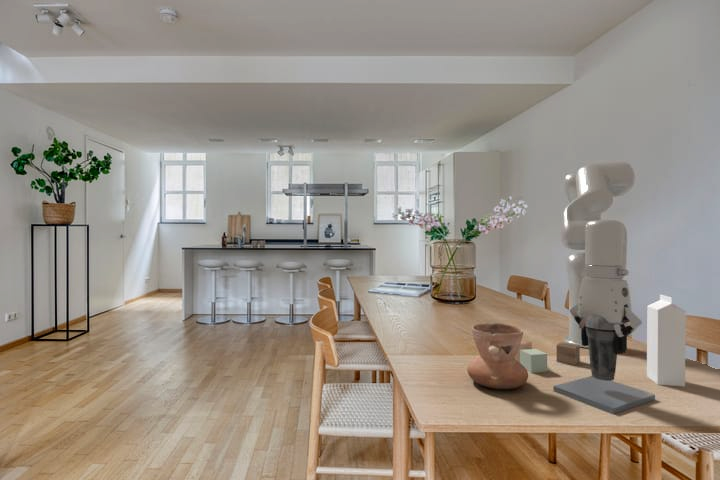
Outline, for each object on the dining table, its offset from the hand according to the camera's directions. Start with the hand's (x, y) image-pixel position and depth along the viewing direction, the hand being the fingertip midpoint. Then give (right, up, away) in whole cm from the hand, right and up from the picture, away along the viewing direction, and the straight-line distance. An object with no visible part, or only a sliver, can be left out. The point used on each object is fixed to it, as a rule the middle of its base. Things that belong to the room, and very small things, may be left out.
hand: (603, 348), depth 93 cm
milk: (+21, -11, +9) cm, 26 cm away
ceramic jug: (-22, -11, +8) cm, 26 cm away
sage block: (-8, -11, +18) cm, 23 cm away
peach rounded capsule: (-9, -11, +25) cm, 28 cm away
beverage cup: (0, -7, 0) cm, 7 cm away
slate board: (0, -11, 0) cm, 11 cm away
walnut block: (+5, -11, +25) cm, 28 cm away
